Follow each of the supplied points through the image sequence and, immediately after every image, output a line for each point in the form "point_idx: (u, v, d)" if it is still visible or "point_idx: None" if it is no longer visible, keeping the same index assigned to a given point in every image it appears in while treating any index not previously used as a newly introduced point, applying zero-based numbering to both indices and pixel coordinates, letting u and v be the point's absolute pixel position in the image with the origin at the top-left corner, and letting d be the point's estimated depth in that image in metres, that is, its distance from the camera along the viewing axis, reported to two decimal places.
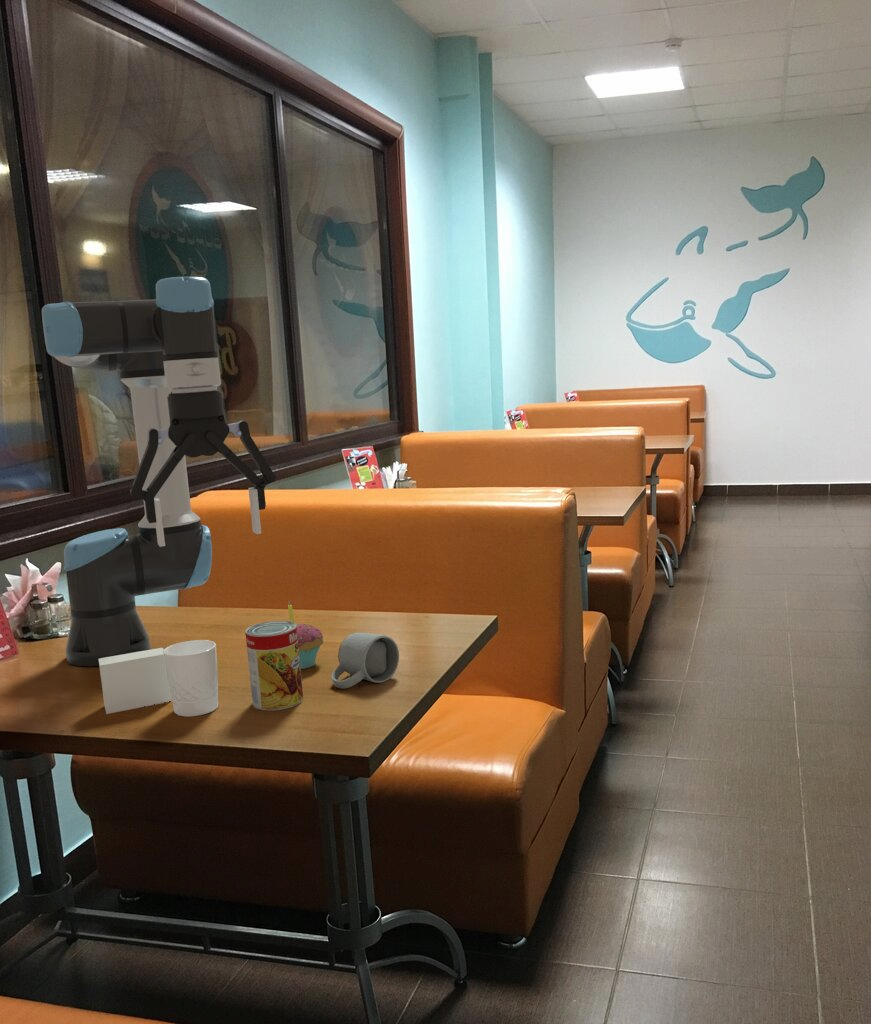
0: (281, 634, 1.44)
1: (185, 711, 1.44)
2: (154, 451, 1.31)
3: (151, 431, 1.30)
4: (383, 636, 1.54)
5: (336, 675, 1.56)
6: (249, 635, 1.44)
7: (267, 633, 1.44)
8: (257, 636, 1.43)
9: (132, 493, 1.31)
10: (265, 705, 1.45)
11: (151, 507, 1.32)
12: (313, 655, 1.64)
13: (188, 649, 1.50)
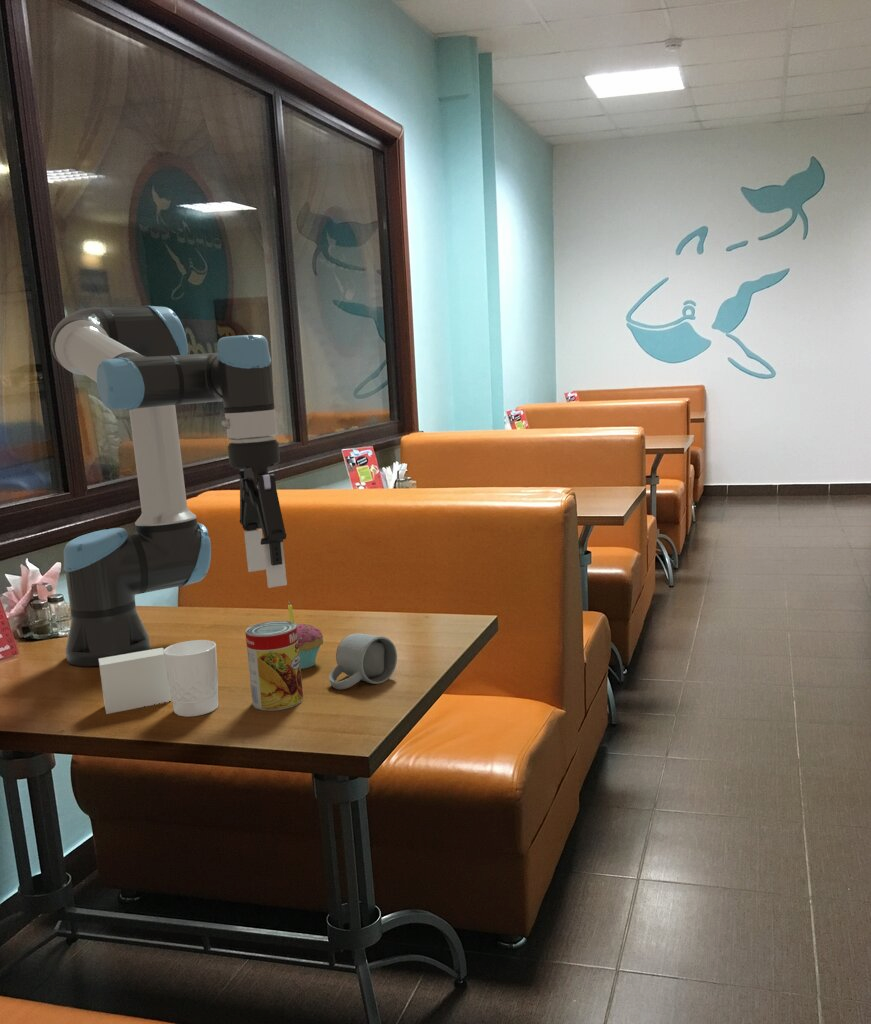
0: (281, 634, 1.44)
1: (185, 711, 1.44)
2: (241, 489, 1.49)
3: (239, 471, 1.48)
4: (381, 637, 1.54)
5: (334, 676, 1.55)
6: (249, 635, 1.44)
7: (267, 633, 1.44)
8: (257, 636, 1.43)
9: (240, 520, 1.53)
10: (265, 705, 1.45)
11: None
12: (313, 655, 1.64)
13: (188, 649, 1.50)
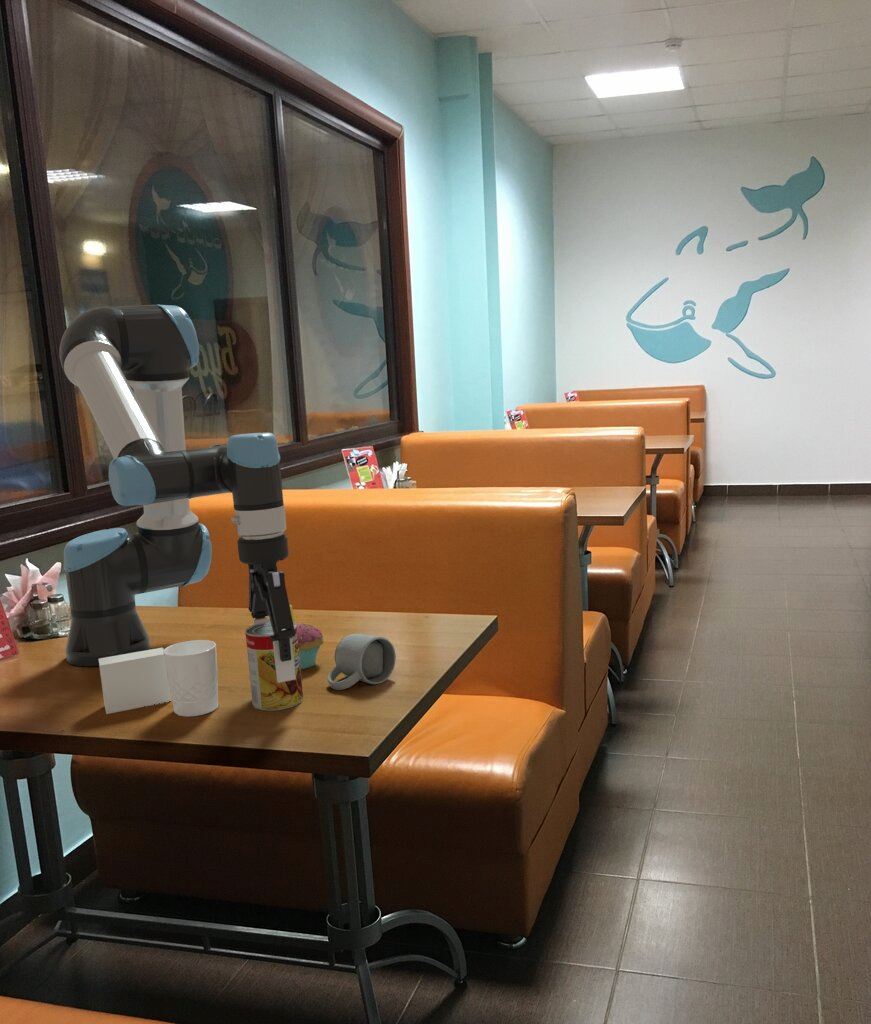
0: None
1: (185, 711, 1.44)
2: (250, 579, 1.51)
3: None
4: (379, 637, 1.54)
5: (332, 676, 1.55)
6: (249, 635, 1.44)
7: (267, 633, 1.44)
8: (257, 636, 1.43)
9: (249, 608, 1.55)
10: (265, 705, 1.45)
11: None
12: (313, 655, 1.64)
13: (188, 649, 1.50)
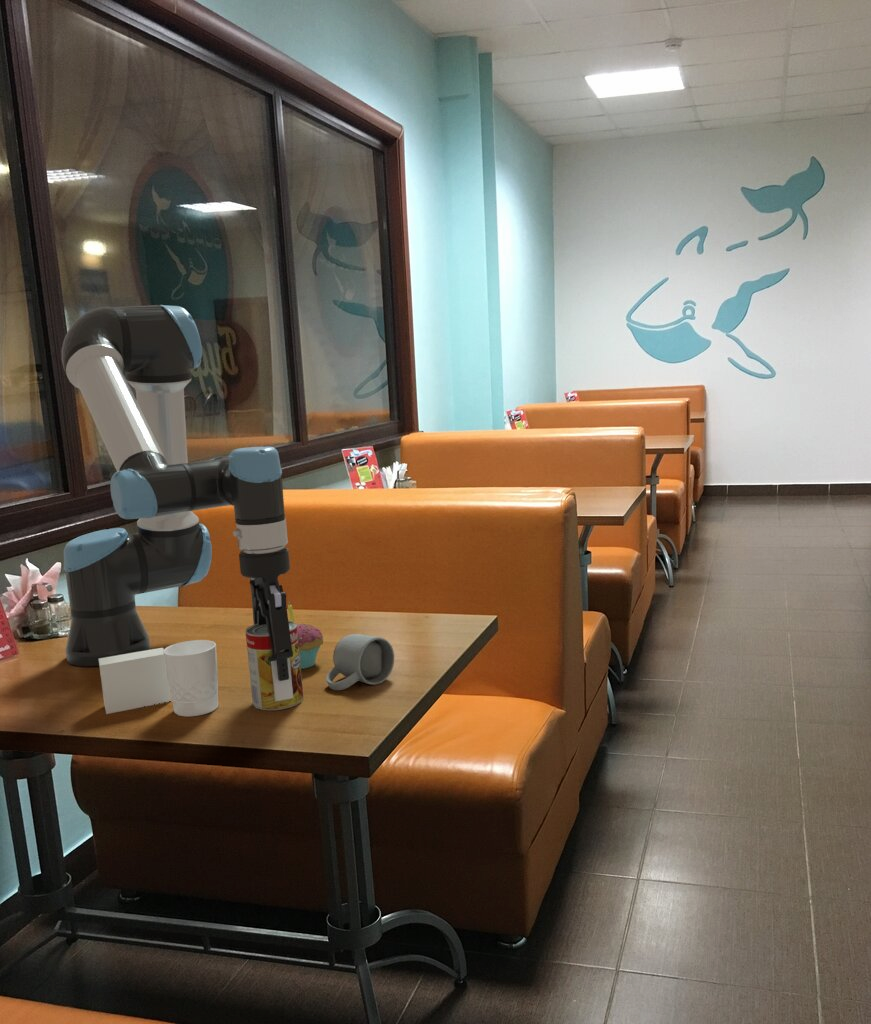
0: None
1: (185, 711, 1.44)
2: (253, 598, 1.51)
3: (250, 581, 1.51)
4: (378, 638, 1.53)
5: (331, 677, 1.55)
6: (249, 635, 1.44)
7: (267, 633, 1.44)
8: (257, 636, 1.43)
9: None
10: (265, 705, 1.45)
11: None
12: (313, 655, 1.64)
13: (188, 649, 1.50)
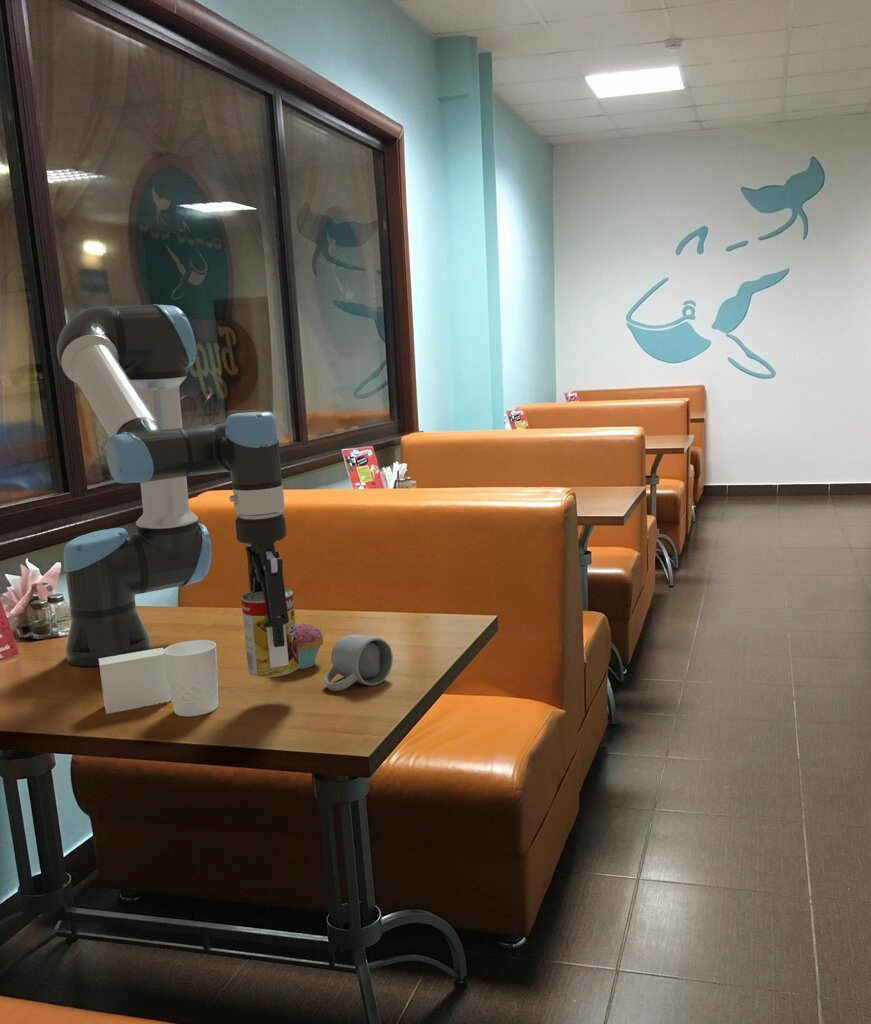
0: None
1: (185, 711, 1.44)
2: (249, 564, 1.50)
3: (246, 547, 1.51)
4: (376, 638, 1.53)
5: (329, 677, 1.55)
6: (245, 601, 1.44)
7: (263, 599, 1.44)
8: (253, 602, 1.43)
9: None
10: (261, 671, 1.45)
11: None
12: (313, 655, 1.64)
13: (188, 649, 1.50)
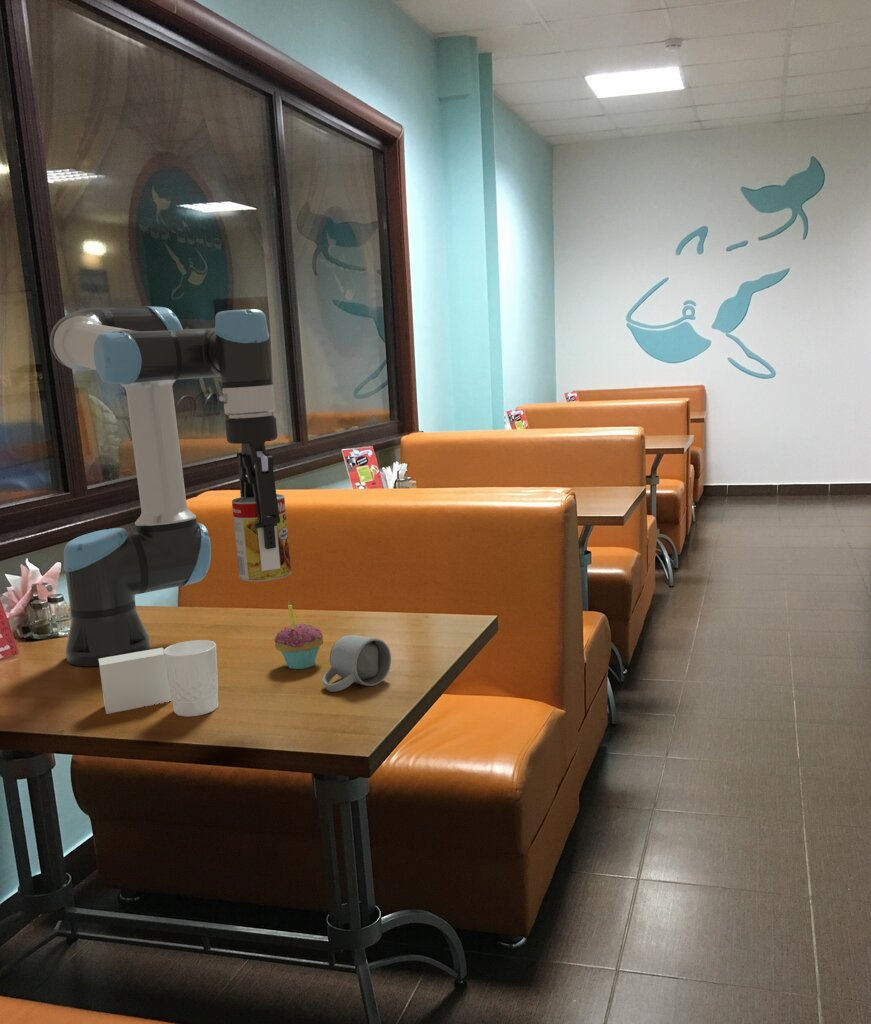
0: None
1: (185, 711, 1.44)
2: (240, 471, 1.48)
3: (237, 454, 1.48)
4: (375, 639, 1.53)
5: (327, 678, 1.54)
6: (235, 503, 1.41)
7: (254, 501, 1.41)
8: (244, 504, 1.40)
9: None
10: (252, 576, 1.42)
11: None
12: (313, 655, 1.64)
13: (188, 649, 1.50)
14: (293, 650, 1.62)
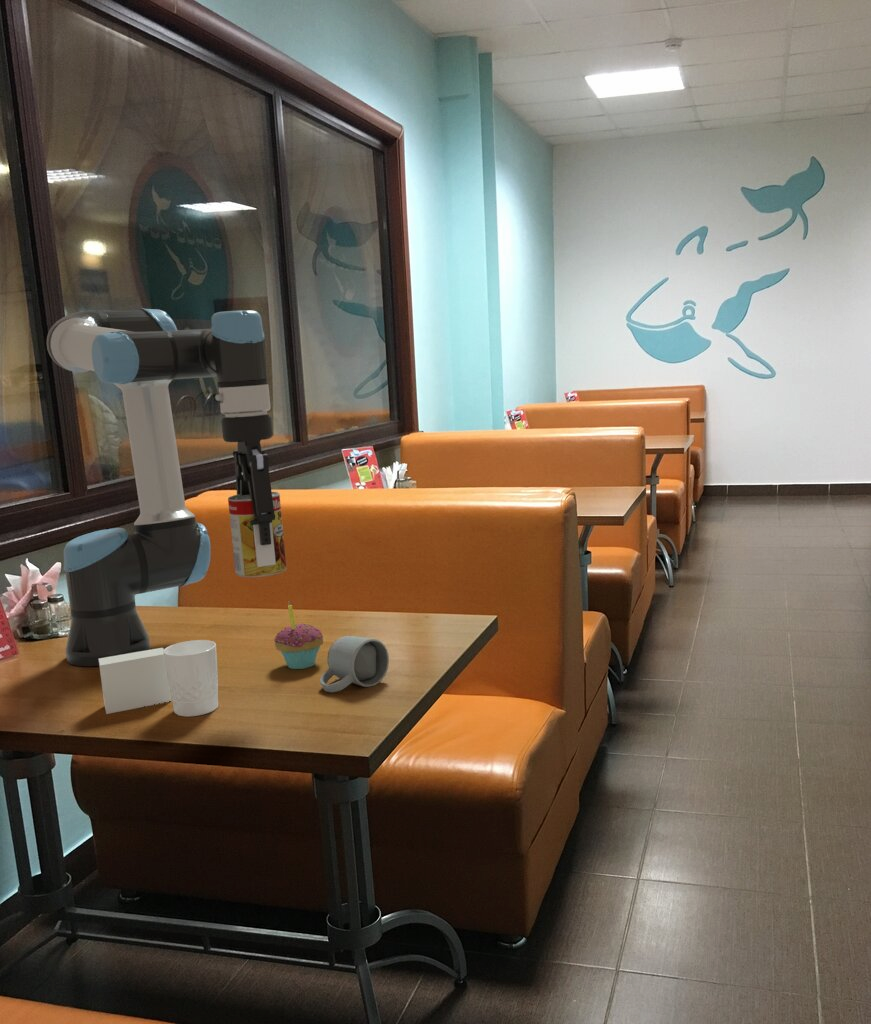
0: None
1: (185, 711, 1.44)
2: (236, 469, 1.50)
3: (233, 452, 1.51)
4: (372, 639, 1.53)
5: (325, 679, 1.54)
6: (232, 501, 1.44)
7: None
8: (240, 501, 1.43)
9: None
10: (248, 571, 1.45)
11: None
12: (313, 655, 1.64)
13: (188, 649, 1.50)
14: (293, 650, 1.62)
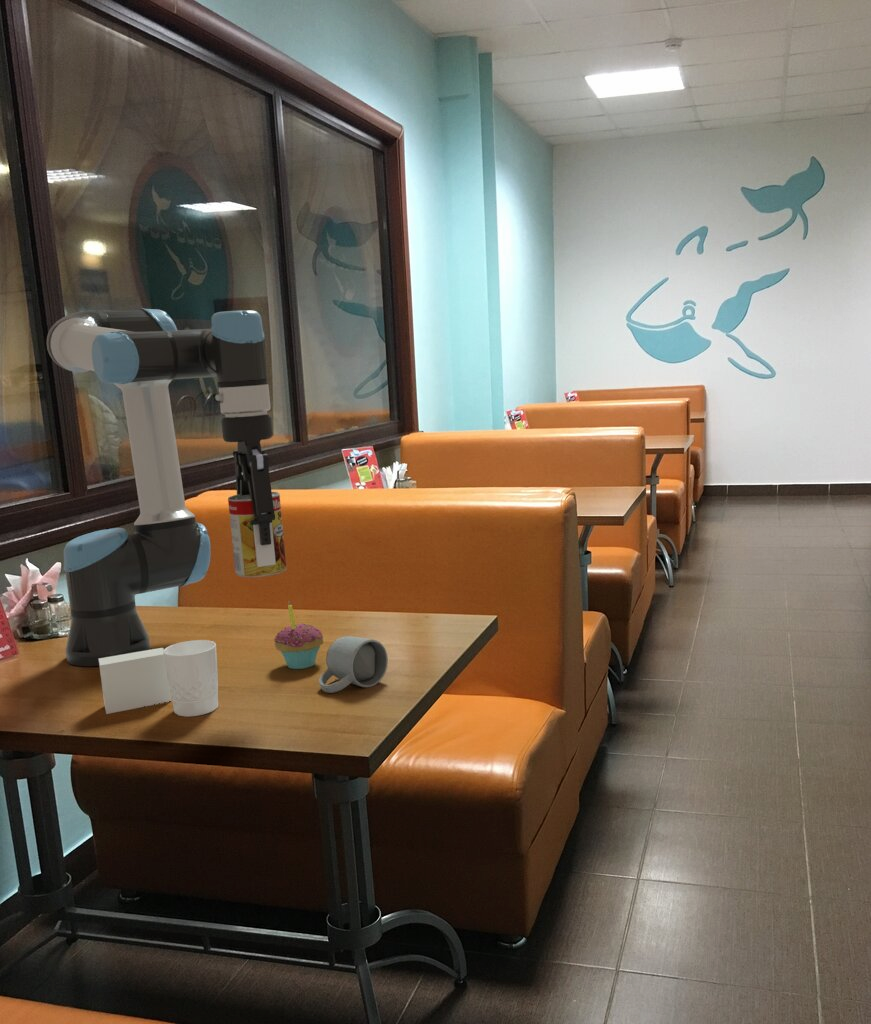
0: None
1: (185, 711, 1.44)
2: (236, 469, 1.50)
3: (233, 452, 1.51)
4: (371, 640, 1.52)
5: (324, 679, 1.54)
6: (232, 501, 1.44)
7: None
8: (240, 501, 1.43)
9: None
10: (248, 571, 1.45)
11: None
12: (313, 655, 1.64)
13: (188, 649, 1.50)
14: (293, 650, 1.62)
